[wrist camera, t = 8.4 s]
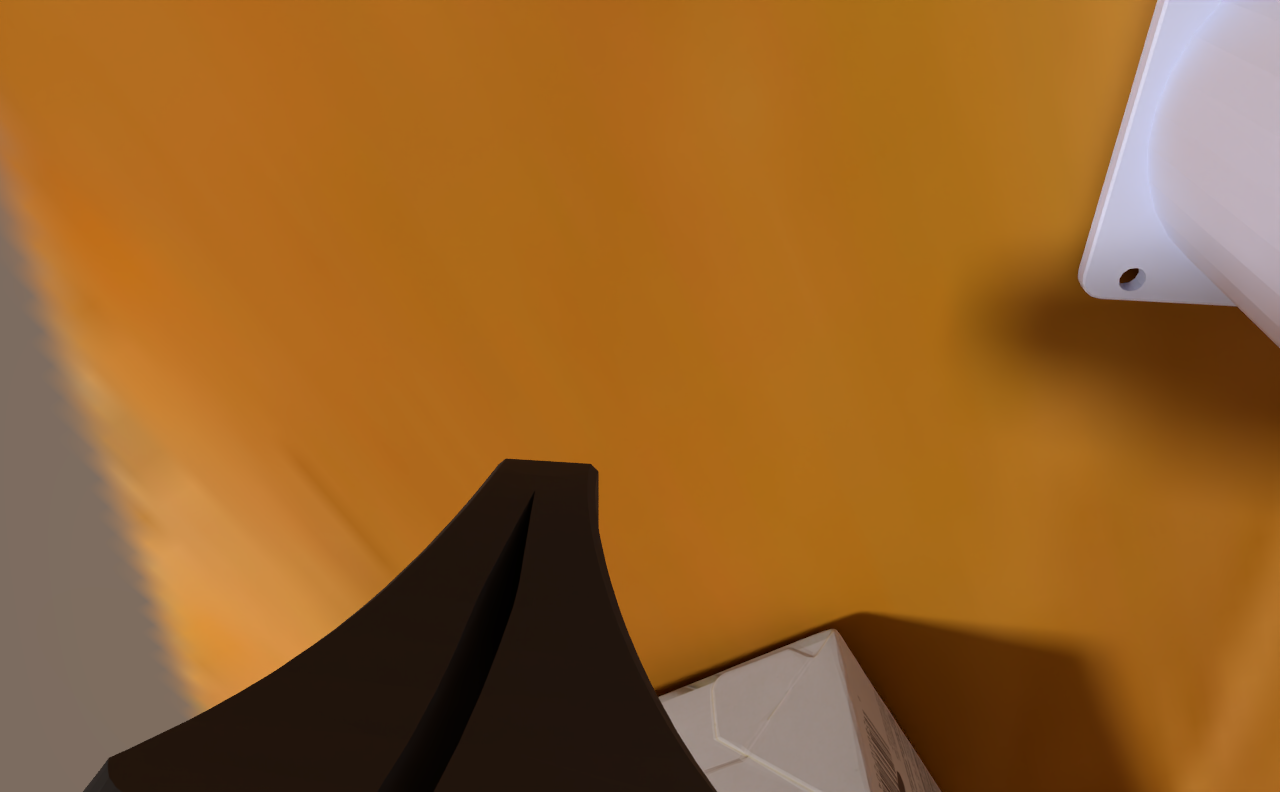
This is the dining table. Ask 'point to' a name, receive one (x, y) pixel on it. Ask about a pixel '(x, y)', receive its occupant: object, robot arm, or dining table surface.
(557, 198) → the dining table surface
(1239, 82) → the robot arm
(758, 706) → the coffee box
